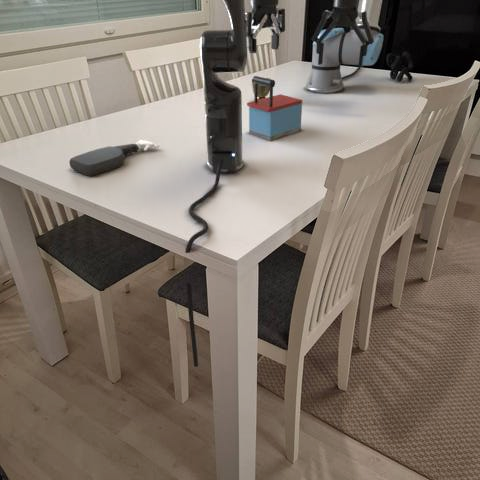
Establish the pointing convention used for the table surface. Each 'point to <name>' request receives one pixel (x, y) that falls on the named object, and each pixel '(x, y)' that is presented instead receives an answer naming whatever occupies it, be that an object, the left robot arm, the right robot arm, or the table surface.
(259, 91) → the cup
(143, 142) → the wireless presentation dongle
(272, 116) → the chest
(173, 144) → the table surface
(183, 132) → the table surface
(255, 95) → the lid
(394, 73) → the squiggle
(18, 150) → the table surface
